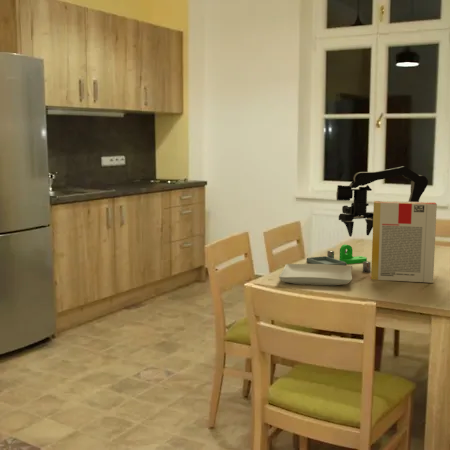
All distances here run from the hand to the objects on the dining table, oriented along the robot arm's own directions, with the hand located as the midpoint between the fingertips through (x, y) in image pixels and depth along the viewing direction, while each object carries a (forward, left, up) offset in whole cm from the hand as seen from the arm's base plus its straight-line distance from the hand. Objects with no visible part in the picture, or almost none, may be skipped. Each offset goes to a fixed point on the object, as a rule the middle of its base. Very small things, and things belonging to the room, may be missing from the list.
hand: (359, 235), depth 270 cm
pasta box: (+5, +34, -12) cm, 37 cm away
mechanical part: (+1, -2, -12) cm, 13 cm away
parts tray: (+16, -2, -12) cm, 20 cm away
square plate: (+35, +21, -13) cm, 43 cm away
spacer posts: (+2, +4, -12) cm, 13 cm away
